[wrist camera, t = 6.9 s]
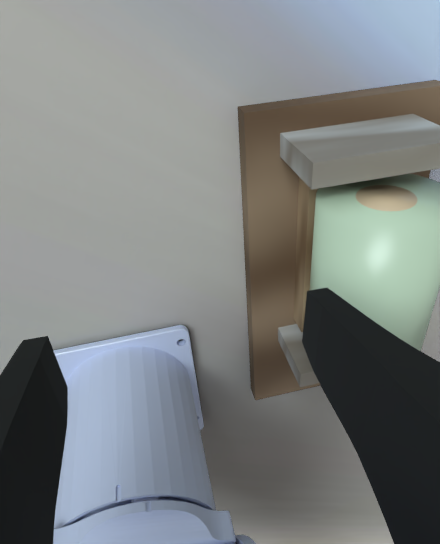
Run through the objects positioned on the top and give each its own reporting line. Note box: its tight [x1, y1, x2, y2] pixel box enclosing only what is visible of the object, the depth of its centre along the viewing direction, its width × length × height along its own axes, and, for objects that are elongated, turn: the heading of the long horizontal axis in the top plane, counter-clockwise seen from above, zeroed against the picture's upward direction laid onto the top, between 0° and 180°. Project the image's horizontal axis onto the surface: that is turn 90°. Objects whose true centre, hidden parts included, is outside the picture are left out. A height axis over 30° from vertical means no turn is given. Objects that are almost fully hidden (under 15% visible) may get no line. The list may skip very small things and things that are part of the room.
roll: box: [310, 173, 440, 351], centre depth 18 cm, size 8×5×5 cm, turn 4°
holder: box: [238, 80, 440, 400], centre depth 21 cm, size 18×9×4 cm, turn 4°
